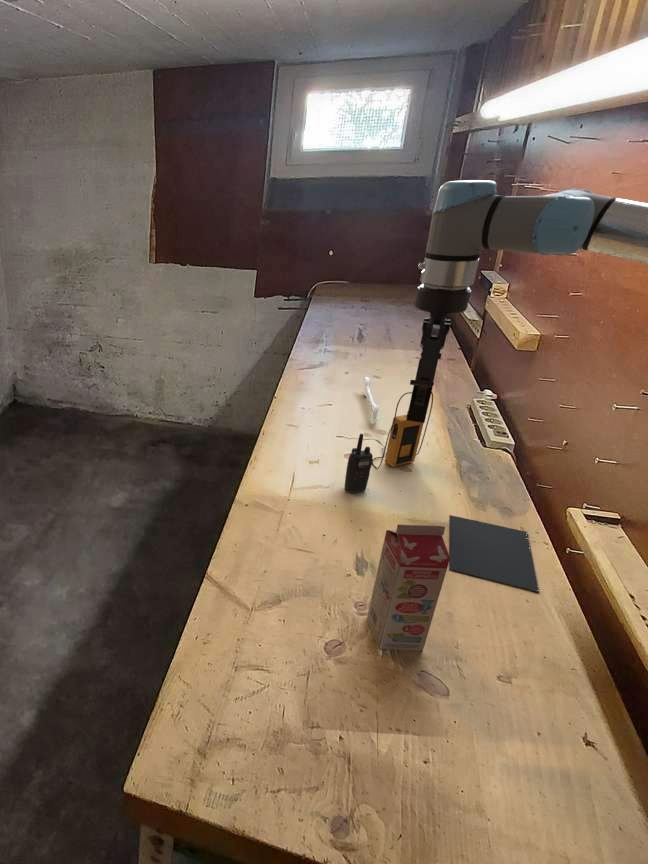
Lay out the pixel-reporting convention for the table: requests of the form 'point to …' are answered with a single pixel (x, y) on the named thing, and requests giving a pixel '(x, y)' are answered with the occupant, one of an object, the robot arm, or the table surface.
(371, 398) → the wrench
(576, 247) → the robot arm
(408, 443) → the multimeter
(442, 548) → the juice carton
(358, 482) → the two-way radio
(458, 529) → the edge mat
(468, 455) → the table surface
